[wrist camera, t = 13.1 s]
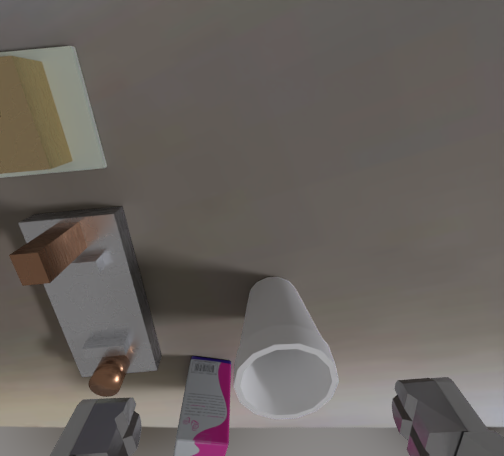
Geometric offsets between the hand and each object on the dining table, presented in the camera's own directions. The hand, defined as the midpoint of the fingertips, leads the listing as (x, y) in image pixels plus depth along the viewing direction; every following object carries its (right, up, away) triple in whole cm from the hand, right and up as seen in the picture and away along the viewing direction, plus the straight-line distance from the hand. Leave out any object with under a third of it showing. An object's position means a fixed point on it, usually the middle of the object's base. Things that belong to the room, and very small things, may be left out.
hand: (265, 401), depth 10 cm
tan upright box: (-22, +16, +20) cm, 33 cm away
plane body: (-19, -3, +29) cm, 34 cm away
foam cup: (+2, -3, +30) cm, 30 cm away
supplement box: (-7, -15, +35) cm, 39 cm away
